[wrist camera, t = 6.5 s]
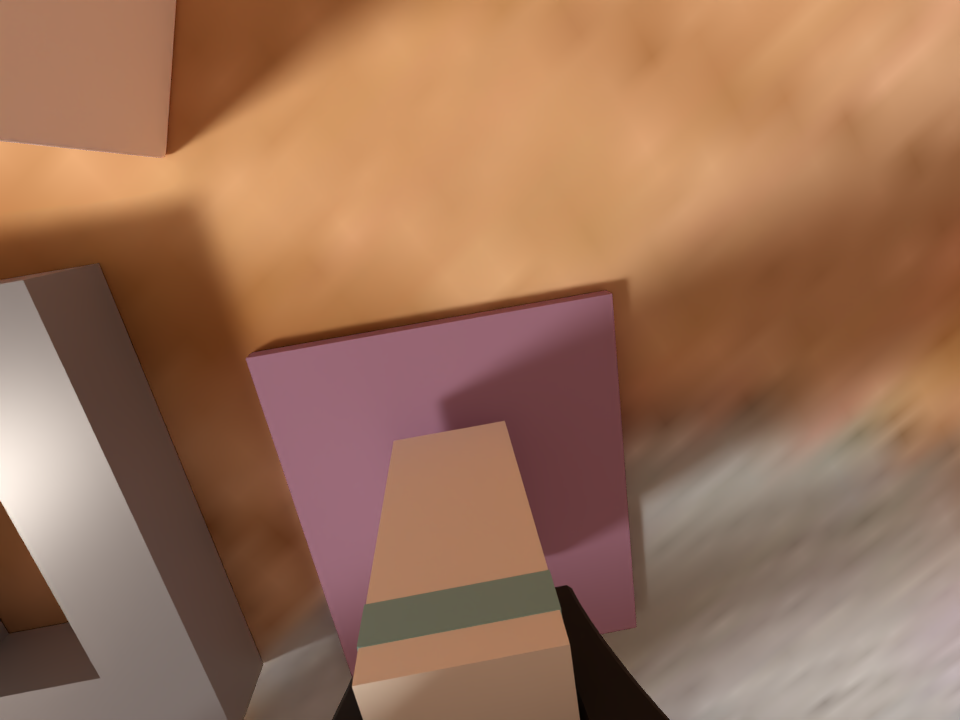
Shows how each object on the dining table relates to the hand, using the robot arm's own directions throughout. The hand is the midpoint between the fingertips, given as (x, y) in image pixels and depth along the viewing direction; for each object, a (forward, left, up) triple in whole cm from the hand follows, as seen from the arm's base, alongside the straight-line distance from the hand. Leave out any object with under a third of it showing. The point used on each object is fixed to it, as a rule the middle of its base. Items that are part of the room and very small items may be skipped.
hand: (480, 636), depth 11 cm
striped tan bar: (0, 0, -3) cm, 4 cm away
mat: (0, 0, -5) cm, 5 cm away
